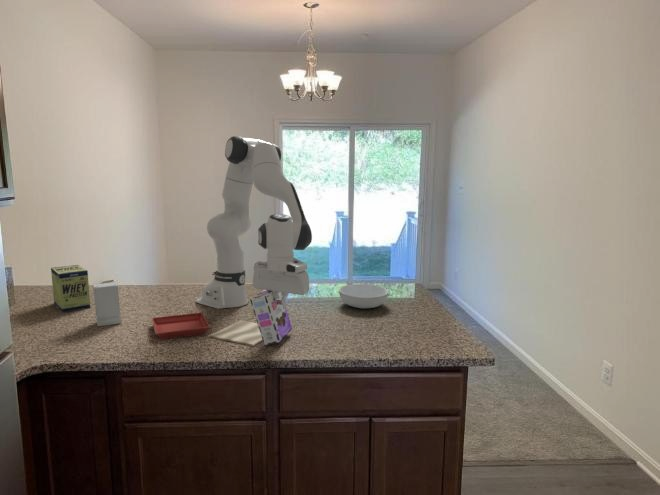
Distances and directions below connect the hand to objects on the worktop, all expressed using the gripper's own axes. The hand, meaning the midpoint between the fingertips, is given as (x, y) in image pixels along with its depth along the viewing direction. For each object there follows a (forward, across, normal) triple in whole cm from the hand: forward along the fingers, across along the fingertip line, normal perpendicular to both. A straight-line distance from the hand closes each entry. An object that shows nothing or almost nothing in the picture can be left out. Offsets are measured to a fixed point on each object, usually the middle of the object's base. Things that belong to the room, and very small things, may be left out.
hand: (280, 304), depth 157 cm
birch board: (+13, -14, 0) cm, 19 cm away
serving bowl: (+13, +10, +52) cm, 54 cm away
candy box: (+12, -1, 0) cm, 12 cm away
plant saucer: (+13, -37, -8) cm, 40 cm away
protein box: (+12, -96, -7) cm, 97 cm away
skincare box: (+13, -65, -15) cm, 68 cm away
